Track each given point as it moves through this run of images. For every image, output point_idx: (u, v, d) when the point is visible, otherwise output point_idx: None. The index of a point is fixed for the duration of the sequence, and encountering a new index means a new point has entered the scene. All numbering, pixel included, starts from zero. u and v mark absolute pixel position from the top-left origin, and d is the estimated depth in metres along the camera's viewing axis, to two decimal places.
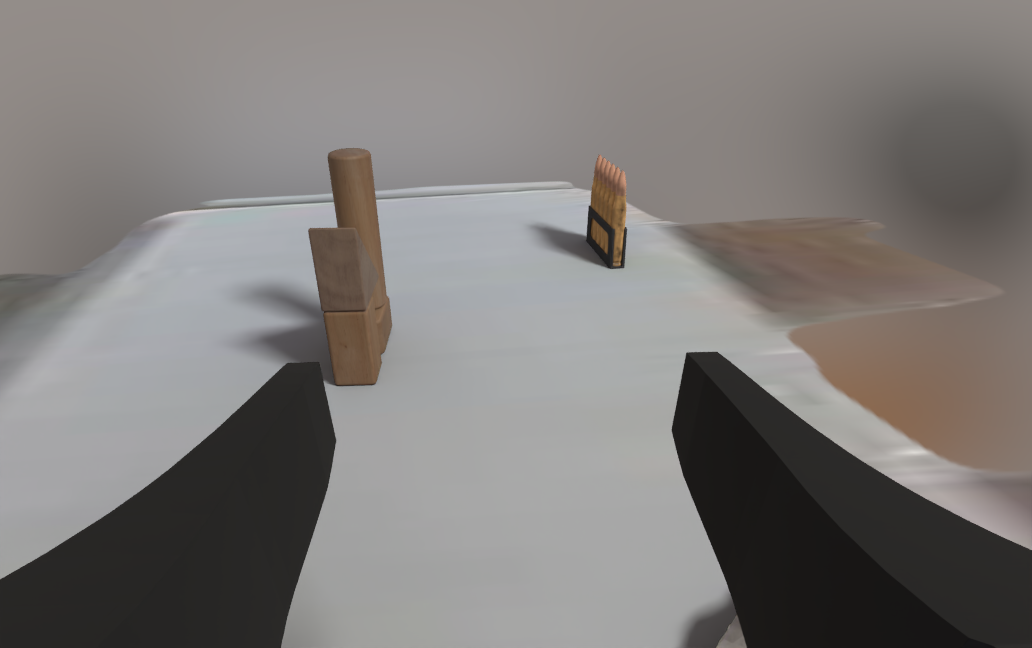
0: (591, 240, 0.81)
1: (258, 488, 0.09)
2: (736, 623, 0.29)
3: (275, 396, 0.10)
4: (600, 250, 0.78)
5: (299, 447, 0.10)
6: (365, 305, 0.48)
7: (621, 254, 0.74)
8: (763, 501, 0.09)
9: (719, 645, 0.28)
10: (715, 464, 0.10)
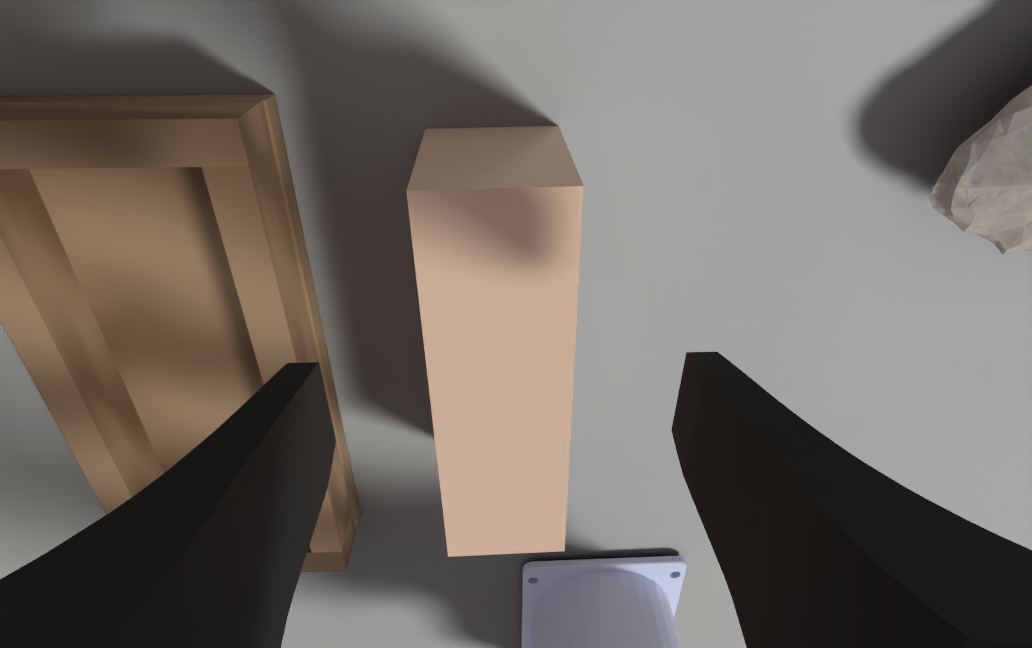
0: None
1: (258, 488, 0.09)
2: None
3: (275, 396, 0.10)
4: None
5: (299, 447, 0.10)
6: None
7: None
8: (763, 501, 0.09)
9: None
10: (715, 464, 0.10)
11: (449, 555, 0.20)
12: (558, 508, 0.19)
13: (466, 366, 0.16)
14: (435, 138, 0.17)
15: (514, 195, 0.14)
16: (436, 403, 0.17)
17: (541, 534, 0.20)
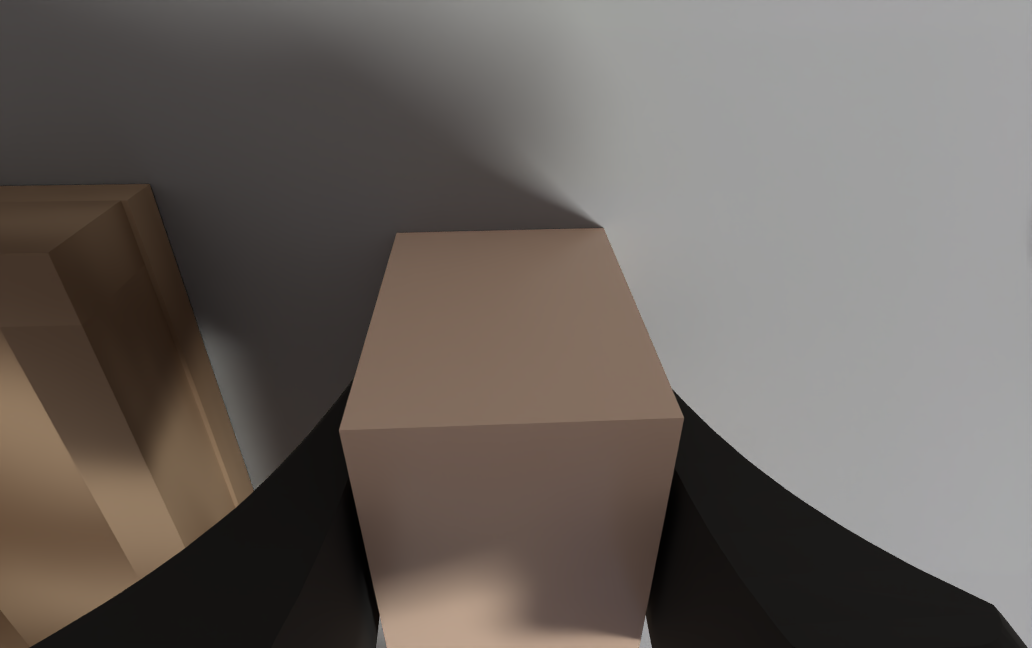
0: None
1: None
2: None
3: None
4: None
5: None
6: None
7: None
8: None
9: None
10: None
11: None
12: None
13: None
14: (409, 262, 0.10)
15: (549, 435, 0.07)
16: None
17: None
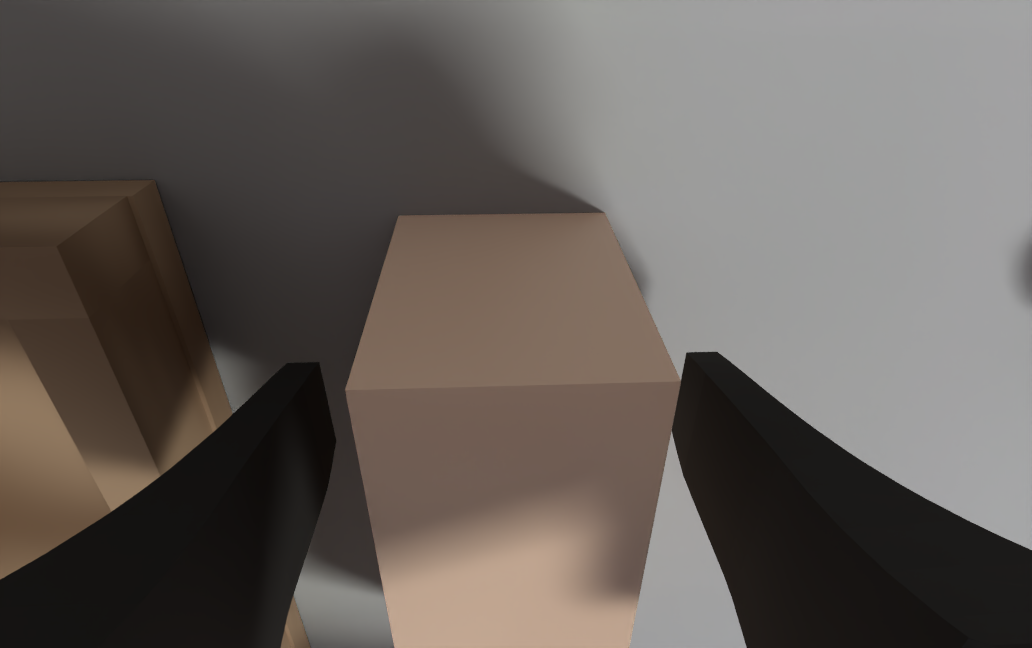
0: None
1: (258, 488, 0.09)
2: None
3: (275, 396, 0.10)
4: None
5: (299, 447, 0.10)
6: None
7: None
8: (763, 501, 0.09)
9: None
10: (715, 464, 0.10)
11: None
12: None
13: (457, 627, 0.10)
14: (412, 238, 0.11)
15: (549, 397, 0.07)
16: None
17: None
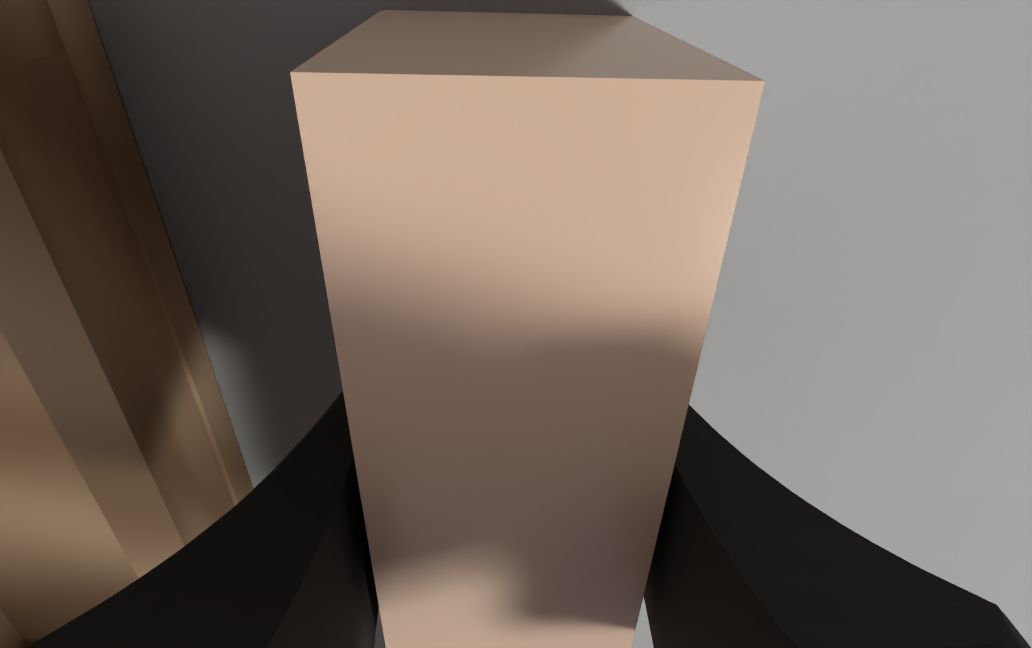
0: None
1: None
2: None
3: None
4: None
5: None
6: None
7: None
8: None
9: None
10: None
11: None
12: None
13: (444, 489, 0.08)
14: (397, 18, 0.08)
15: (580, 101, 0.05)
16: (382, 552, 0.08)
17: None
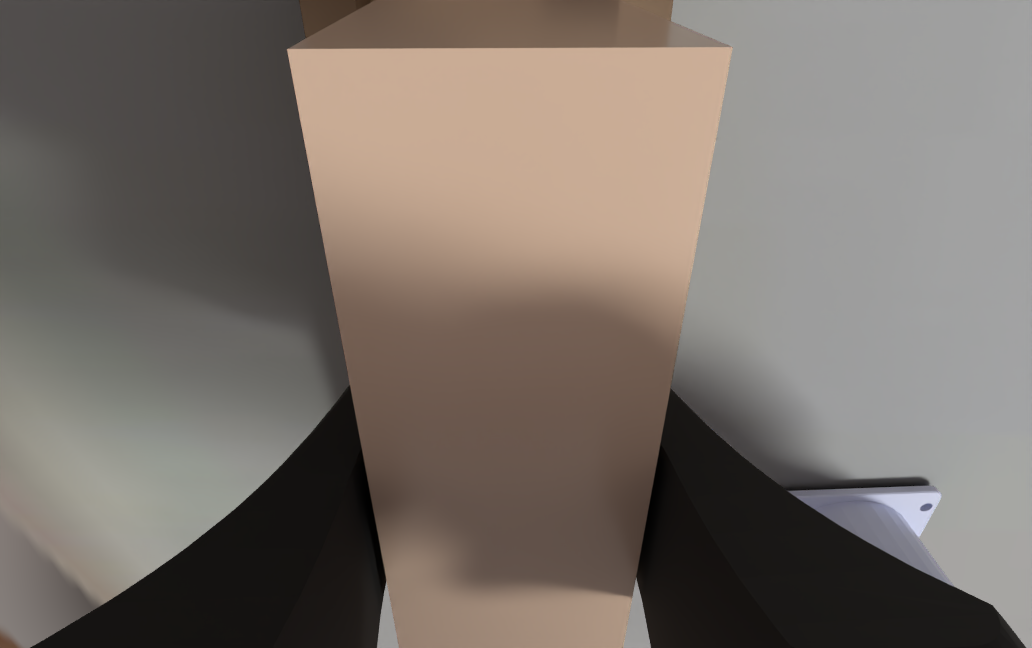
0: None
1: (364, 484, 0.09)
2: None
3: None
4: None
5: None
6: None
7: None
8: (660, 505, 0.09)
9: None
10: None
11: None
12: None
13: (443, 453, 0.08)
14: (391, 5, 0.09)
15: (559, 71, 0.05)
16: (386, 517, 0.09)
17: None
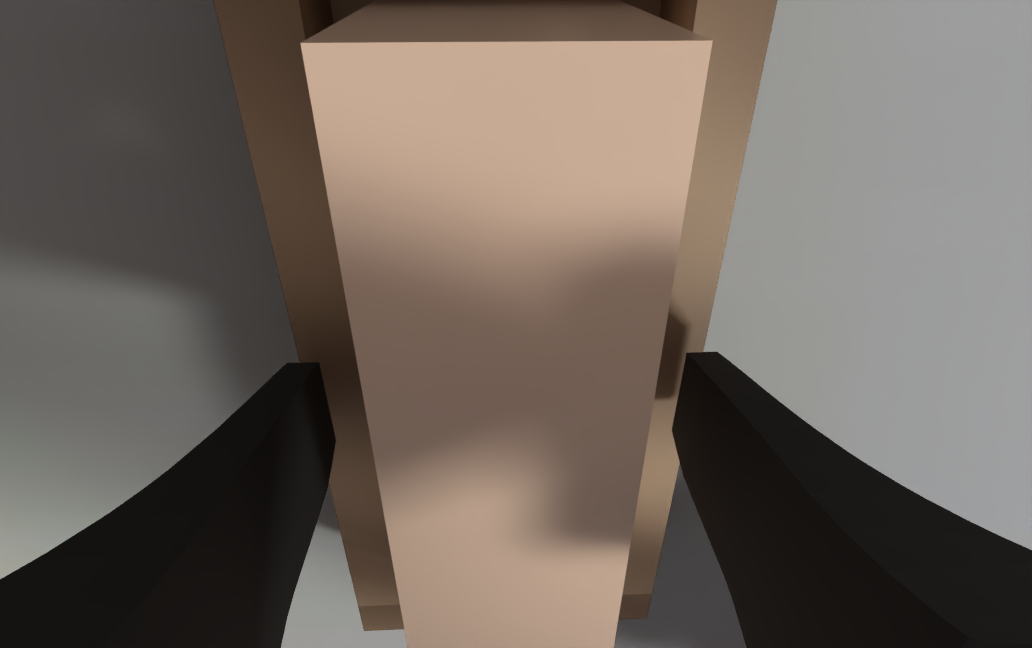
0: None
1: (258, 488, 0.09)
2: None
3: (275, 396, 0.10)
4: None
5: (299, 447, 0.10)
6: None
7: None
8: (763, 501, 0.09)
9: None
10: (715, 464, 0.10)
11: None
12: (600, 646, 0.12)
13: (445, 428, 0.08)
14: (394, 3, 0.09)
15: (553, 63, 0.06)
16: (390, 490, 0.09)
17: None
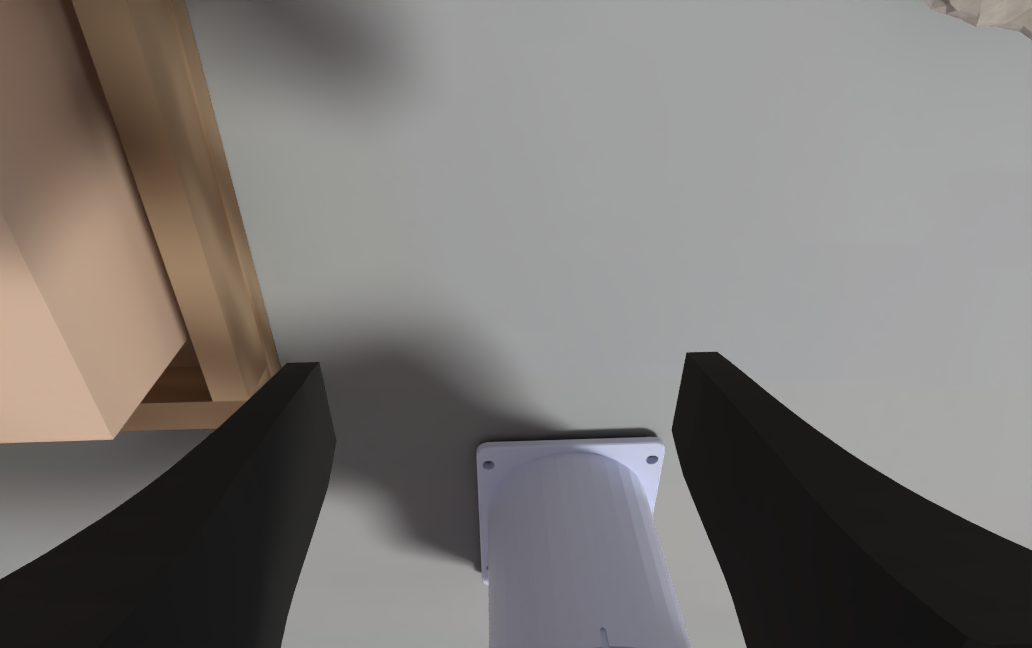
0: None
1: (258, 488, 0.09)
2: None
3: (275, 396, 0.10)
4: None
5: (299, 447, 0.10)
6: None
7: None
8: (763, 501, 0.09)
9: None
10: (715, 464, 0.10)
11: None
12: (69, 375, 0.15)
13: None
14: None
15: None
16: None
17: (68, 414, 0.16)
